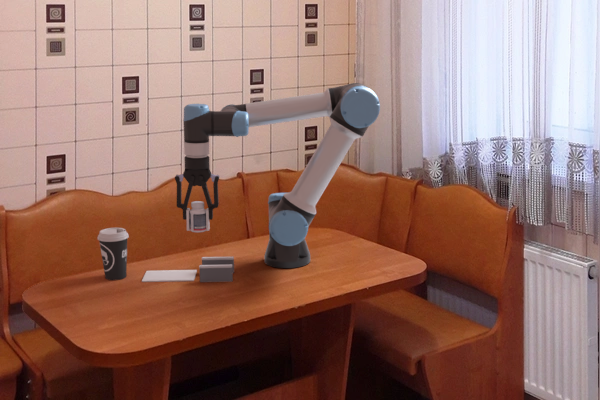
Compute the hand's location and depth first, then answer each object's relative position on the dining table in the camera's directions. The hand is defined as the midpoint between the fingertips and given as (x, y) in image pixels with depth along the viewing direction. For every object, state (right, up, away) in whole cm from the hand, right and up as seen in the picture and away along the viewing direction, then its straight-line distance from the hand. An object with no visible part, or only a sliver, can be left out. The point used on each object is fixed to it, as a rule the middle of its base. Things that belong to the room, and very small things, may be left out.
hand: (198, 229), depth 261 cm
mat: (-9, -15, +4) cm, 18 cm away
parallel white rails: (+6, -15, +3) cm, 16 cm away
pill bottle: (0, -1, 0) cm, 0 cm away
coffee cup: (-26, -15, +5) cm, 31 cm away
